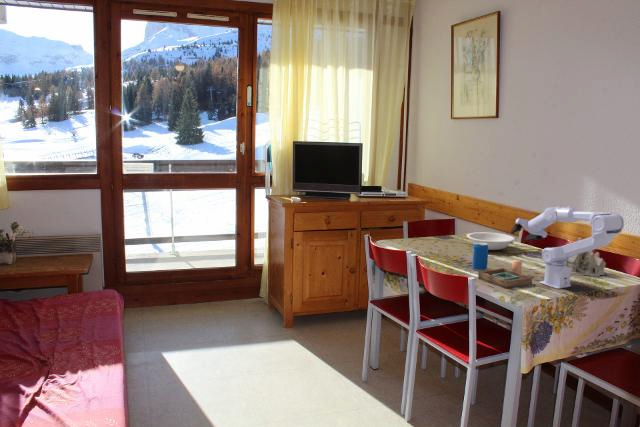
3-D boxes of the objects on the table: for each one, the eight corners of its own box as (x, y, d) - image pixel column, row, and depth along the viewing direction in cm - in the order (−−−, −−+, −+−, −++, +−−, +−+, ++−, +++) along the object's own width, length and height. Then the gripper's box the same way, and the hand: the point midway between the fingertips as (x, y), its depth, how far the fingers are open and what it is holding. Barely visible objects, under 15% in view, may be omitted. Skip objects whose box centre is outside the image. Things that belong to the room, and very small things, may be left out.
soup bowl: (523, 250, 288) (524, 238, 287) (493, 256, 274) (494, 243, 273) (486, 242, 307) (487, 230, 306) (456, 247, 294) (457, 235, 293)
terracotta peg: (523, 274, 242) (524, 261, 241) (516, 276, 240) (517, 262, 239) (516, 272, 245) (517, 259, 244) (509, 273, 244) (510, 260, 243)
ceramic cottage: (553, 269, 251) (558, 237, 248) (580, 267, 257) (586, 236, 254) (580, 280, 237) (586, 246, 234) (609, 278, 243) (615, 245, 240)
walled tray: (531, 284, 228) (532, 277, 227) (506, 288, 222) (506, 281, 221) (502, 274, 242) (503, 268, 241) (478, 278, 236) (478, 271, 235)
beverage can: (470, 267, 253) (471, 241, 252) (484, 267, 253) (486, 242, 251) (474, 271, 247) (475, 244, 245) (488, 271, 247) (490, 245, 245)
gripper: (555, 222, 236) (534, 234, 248) (526, 207, 234) (506, 220, 246) (553, 236, 232) (532, 248, 244) (524, 221, 231) (504, 233, 242)
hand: (519, 235), depth 245 cm, fingers open, 7 cm apart
